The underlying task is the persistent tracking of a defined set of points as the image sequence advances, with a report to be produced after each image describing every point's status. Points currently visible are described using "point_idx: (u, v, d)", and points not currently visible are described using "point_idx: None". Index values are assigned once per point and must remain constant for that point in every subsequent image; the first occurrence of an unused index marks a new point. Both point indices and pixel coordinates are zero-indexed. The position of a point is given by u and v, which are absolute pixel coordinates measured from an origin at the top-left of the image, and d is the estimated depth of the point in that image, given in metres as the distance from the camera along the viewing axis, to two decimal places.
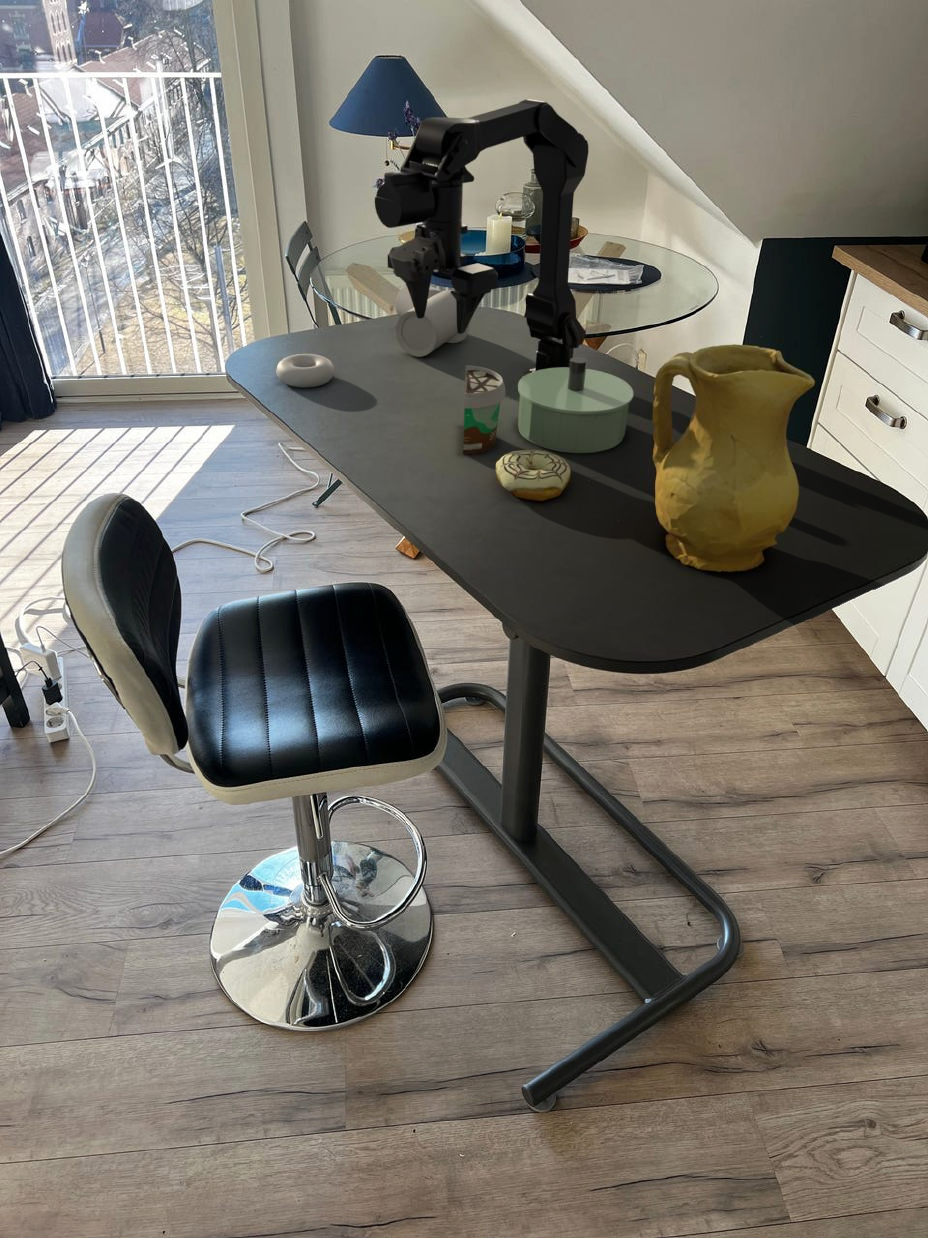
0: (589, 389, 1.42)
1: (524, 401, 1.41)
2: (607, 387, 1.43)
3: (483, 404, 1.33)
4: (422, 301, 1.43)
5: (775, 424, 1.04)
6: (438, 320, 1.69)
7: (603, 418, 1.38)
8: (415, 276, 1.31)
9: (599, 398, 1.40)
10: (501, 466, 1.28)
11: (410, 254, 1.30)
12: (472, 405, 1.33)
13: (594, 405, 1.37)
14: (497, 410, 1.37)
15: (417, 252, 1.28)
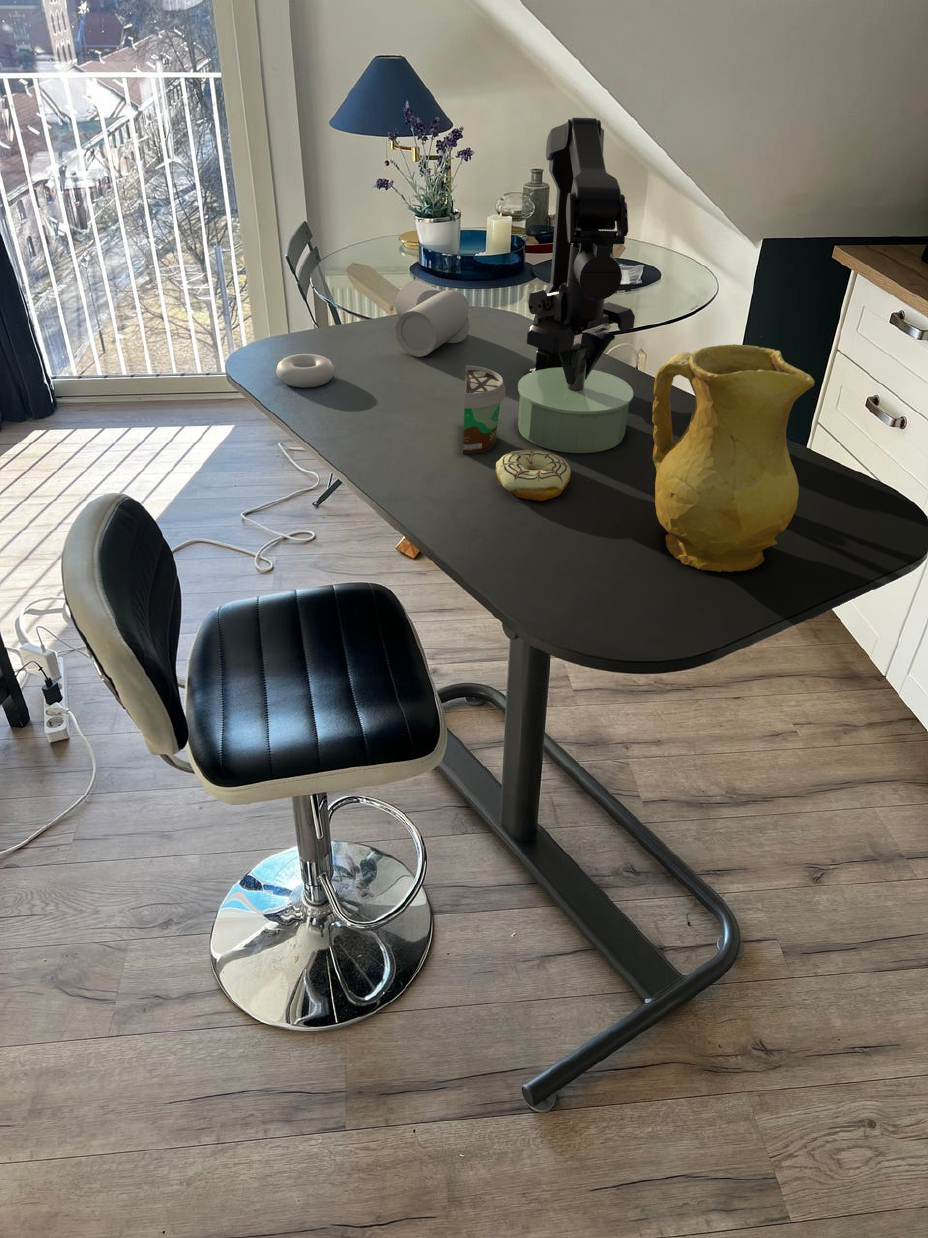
0: (589, 389, 1.42)
1: (524, 401, 1.41)
2: (607, 387, 1.43)
3: (483, 404, 1.33)
4: None
5: (774, 424, 1.04)
6: (438, 320, 1.69)
7: (603, 418, 1.38)
8: (536, 314, 1.40)
9: (599, 398, 1.40)
10: (501, 466, 1.28)
11: None
12: (472, 405, 1.33)
13: (594, 405, 1.37)
14: (497, 410, 1.37)
15: (535, 292, 1.37)
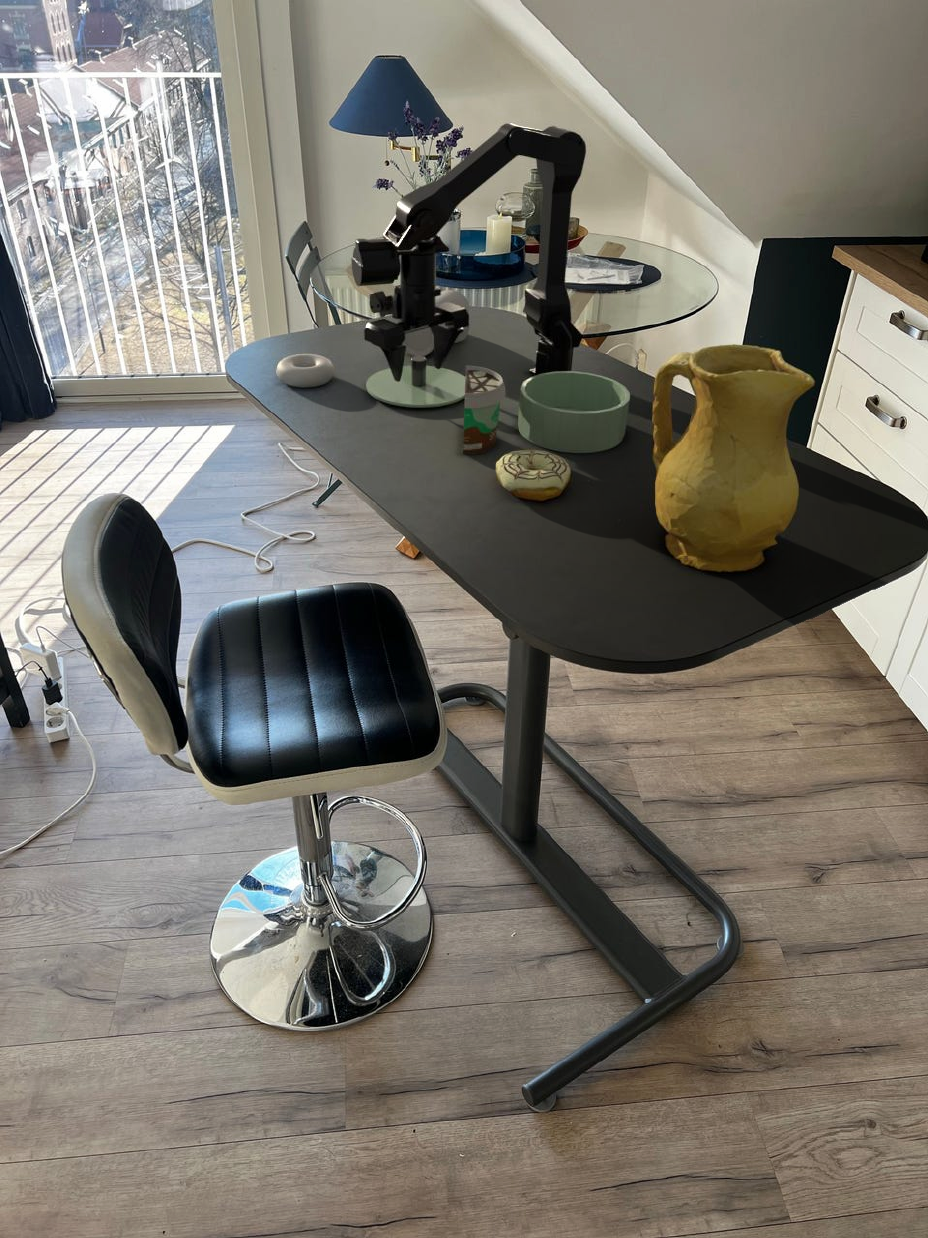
0: (431, 385, 1.57)
1: (524, 401, 1.41)
2: (448, 383, 1.58)
3: (483, 404, 1.33)
4: (438, 354, 1.58)
5: (774, 424, 1.04)
6: None
7: (603, 418, 1.38)
8: (379, 313, 1.54)
9: (436, 393, 1.54)
10: (501, 466, 1.28)
11: None
12: (472, 405, 1.33)
13: (430, 399, 1.52)
14: (497, 410, 1.37)
15: None
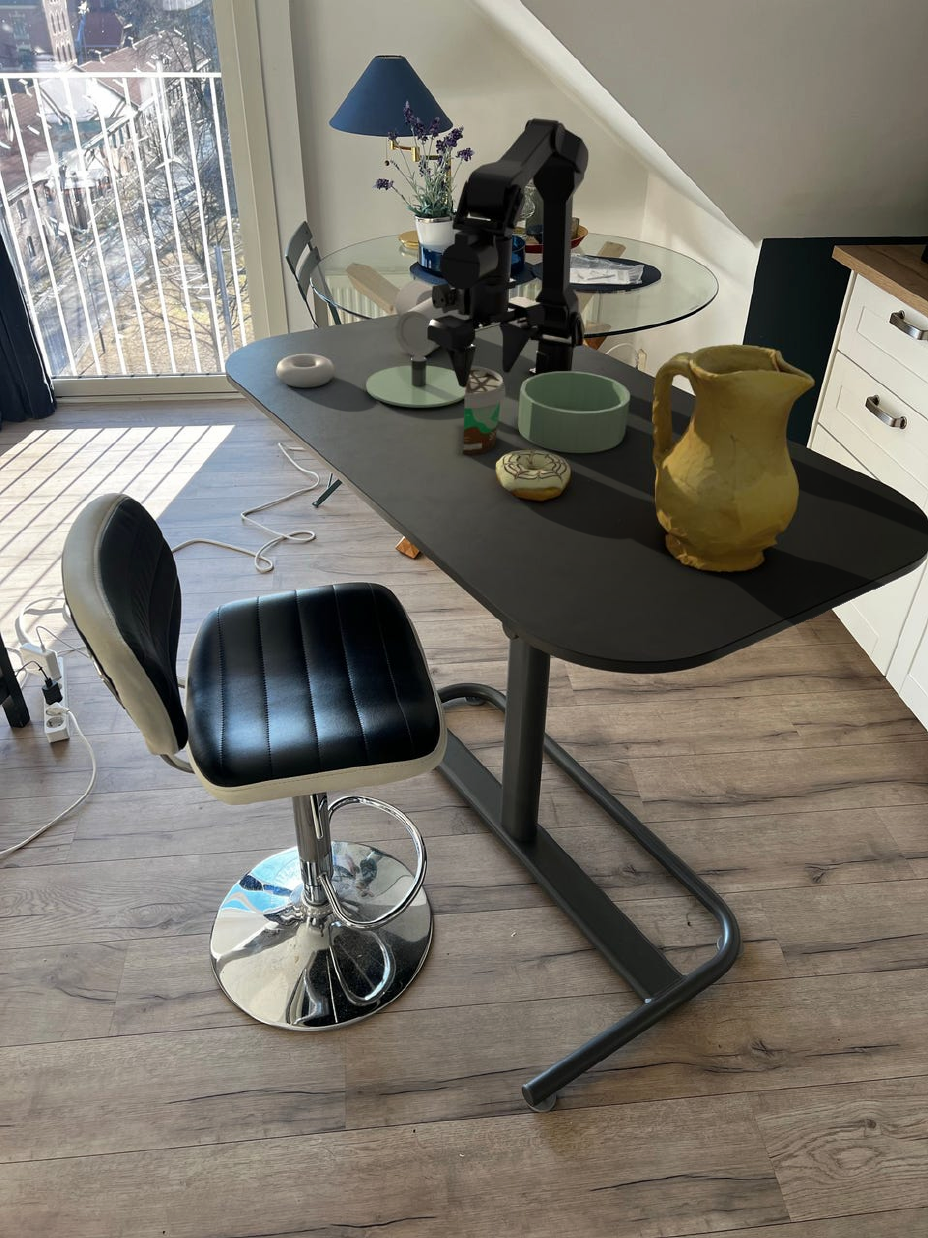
0: (431, 385, 1.57)
1: (524, 401, 1.41)
2: (448, 383, 1.58)
3: (483, 404, 1.33)
4: (508, 356, 1.38)
5: (774, 424, 1.04)
6: None
7: (603, 418, 1.38)
8: (442, 309, 1.34)
9: (436, 393, 1.54)
10: (501, 466, 1.28)
11: None
12: (472, 405, 1.33)
13: (430, 399, 1.52)
14: (497, 410, 1.37)
15: None
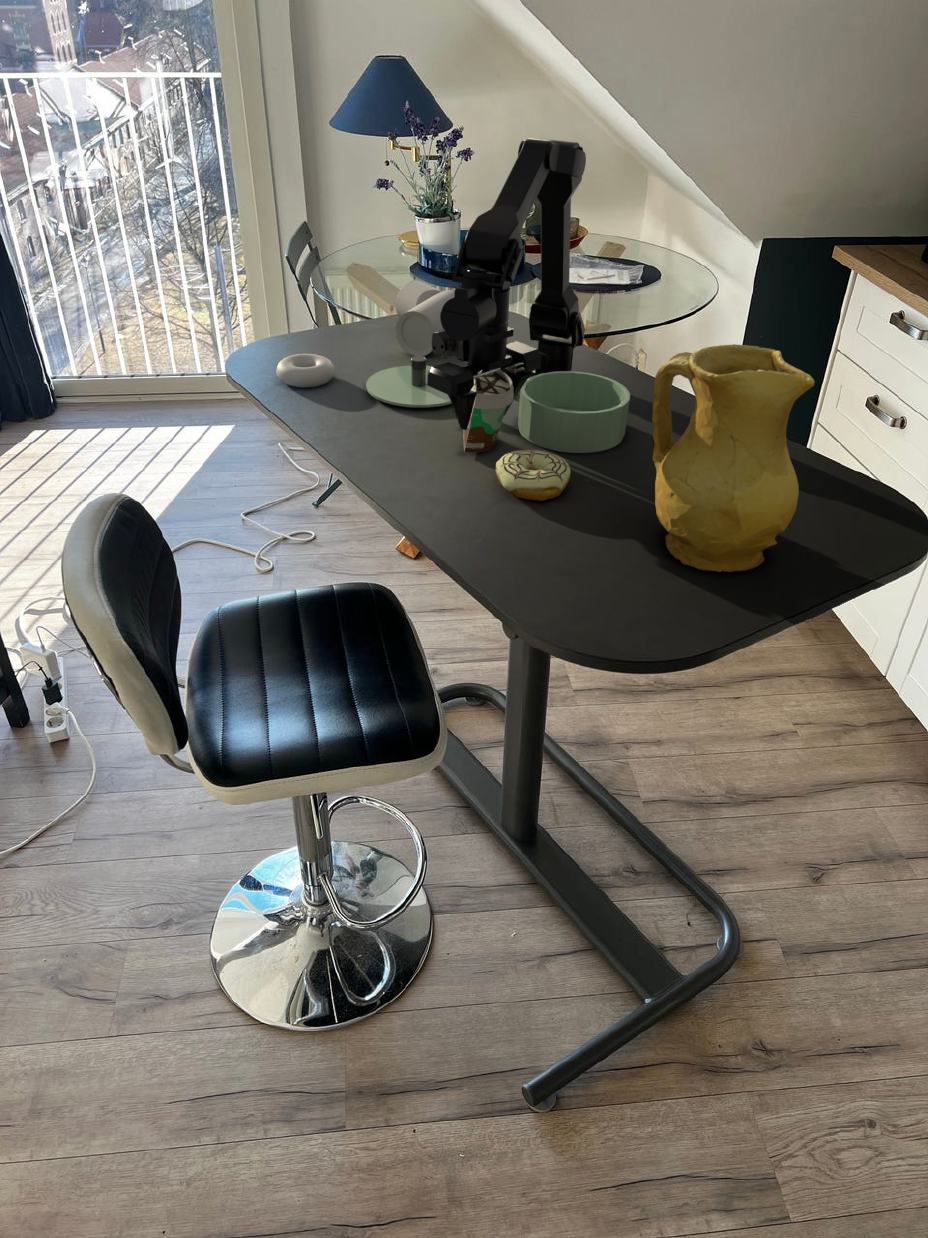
0: None
1: (524, 401, 1.41)
2: None
3: (493, 406, 1.33)
4: None
5: (774, 424, 1.04)
6: (438, 320, 1.69)
7: (603, 418, 1.38)
8: None
9: (436, 393, 1.54)
10: (501, 466, 1.28)
11: None
12: (483, 406, 1.32)
13: (430, 399, 1.52)
14: (503, 412, 1.37)
15: (438, 332, 1.36)
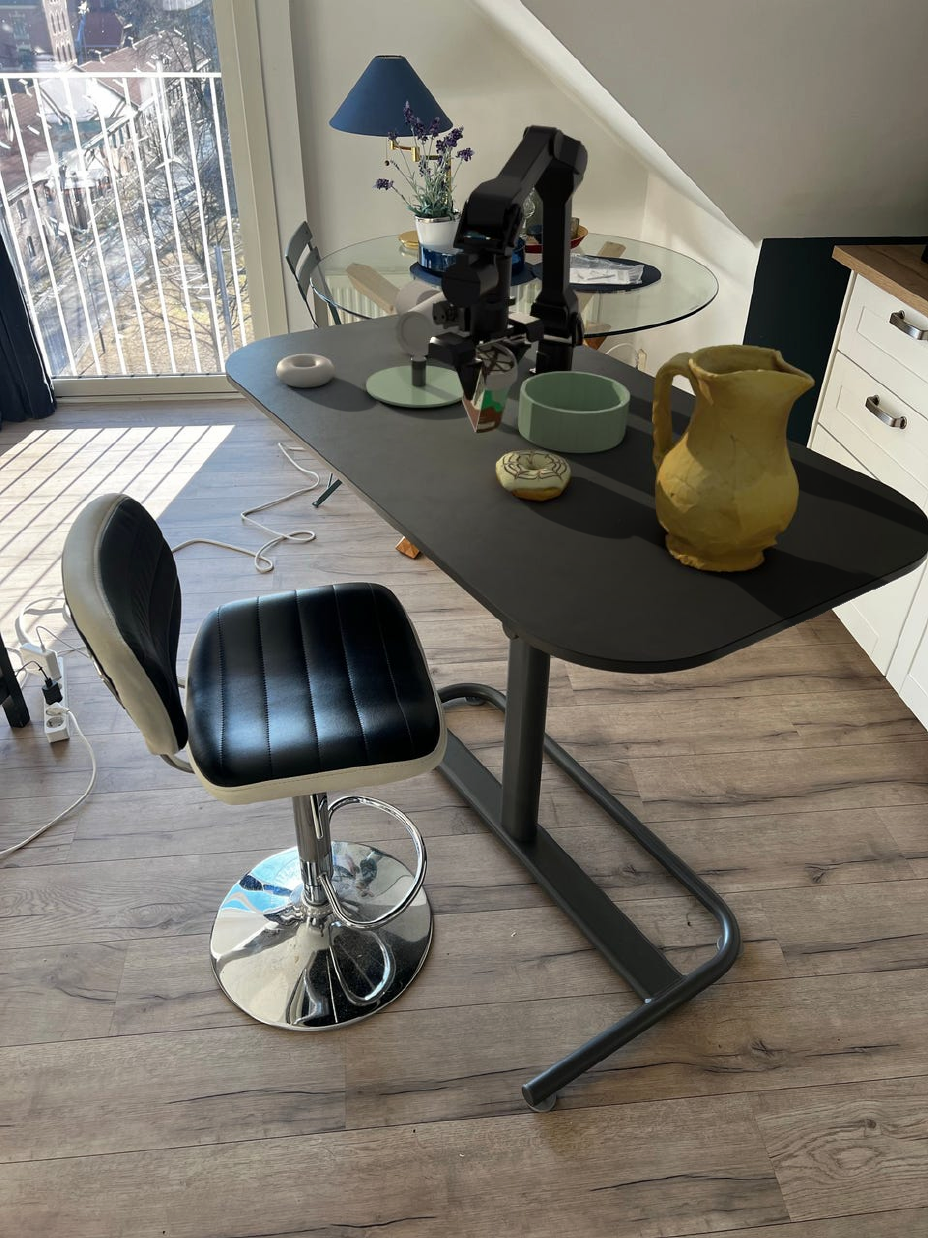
0: (431, 385, 1.57)
1: (524, 401, 1.41)
2: (448, 383, 1.58)
3: (503, 385, 1.30)
4: None
5: (774, 424, 1.04)
6: None
7: (603, 418, 1.38)
8: (442, 325, 1.35)
9: (436, 393, 1.54)
10: (501, 466, 1.28)
11: None
12: (494, 387, 1.29)
13: (430, 399, 1.52)
14: (509, 387, 1.34)
15: (439, 302, 1.33)
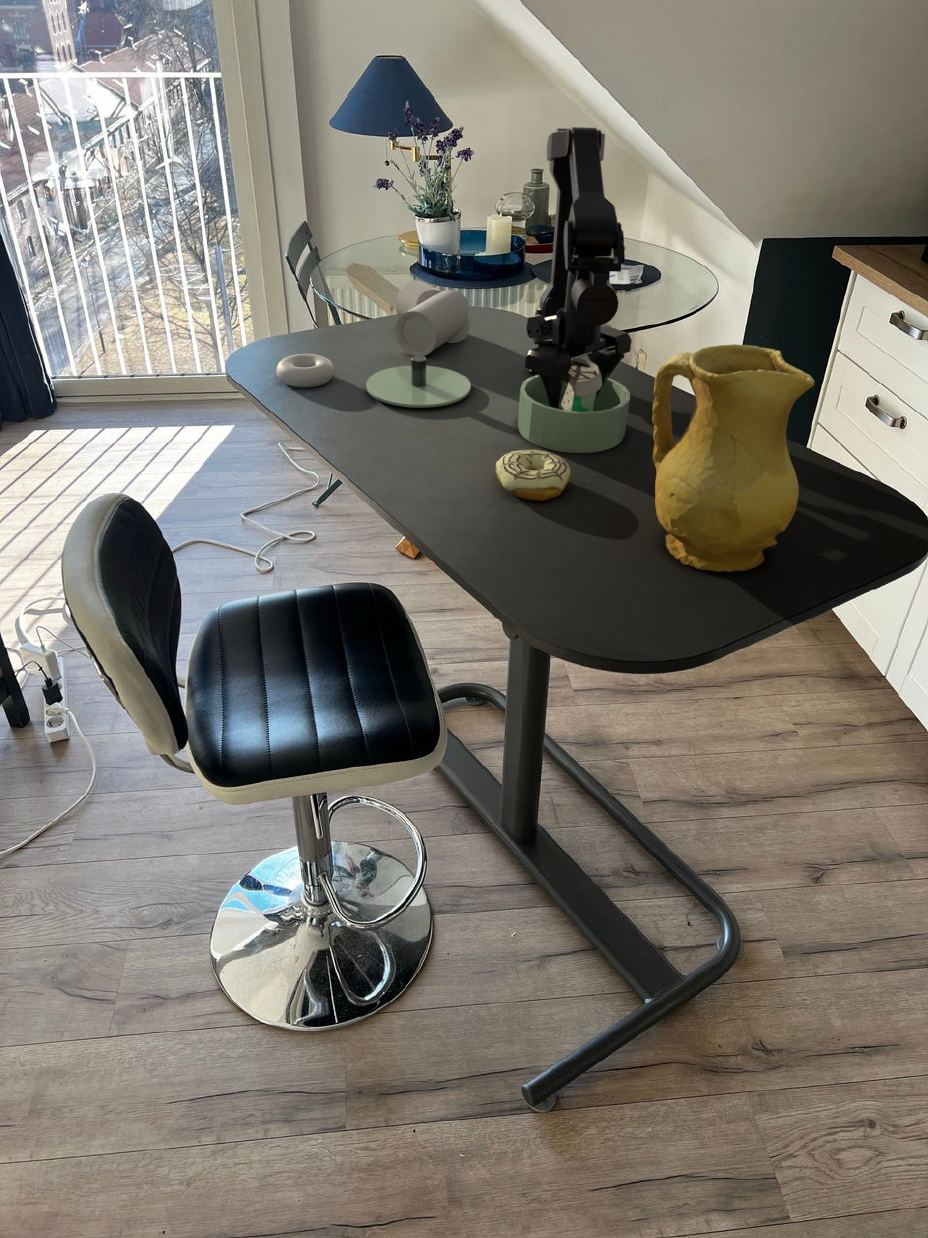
0: (431, 385, 1.57)
1: (524, 401, 1.41)
2: (448, 383, 1.58)
3: (591, 390, 1.37)
4: None
5: (774, 424, 1.04)
6: (439, 320, 1.69)
7: (603, 418, 1.38)
8: (534, 338, 1.42)
9: (436, 393, 1.54)
10: (501, 466, 1.28)
11: None
12: (582, 392, 1.36)
13: (430, 399, 1.52)
14: (595, 395, 1.42)
15: None
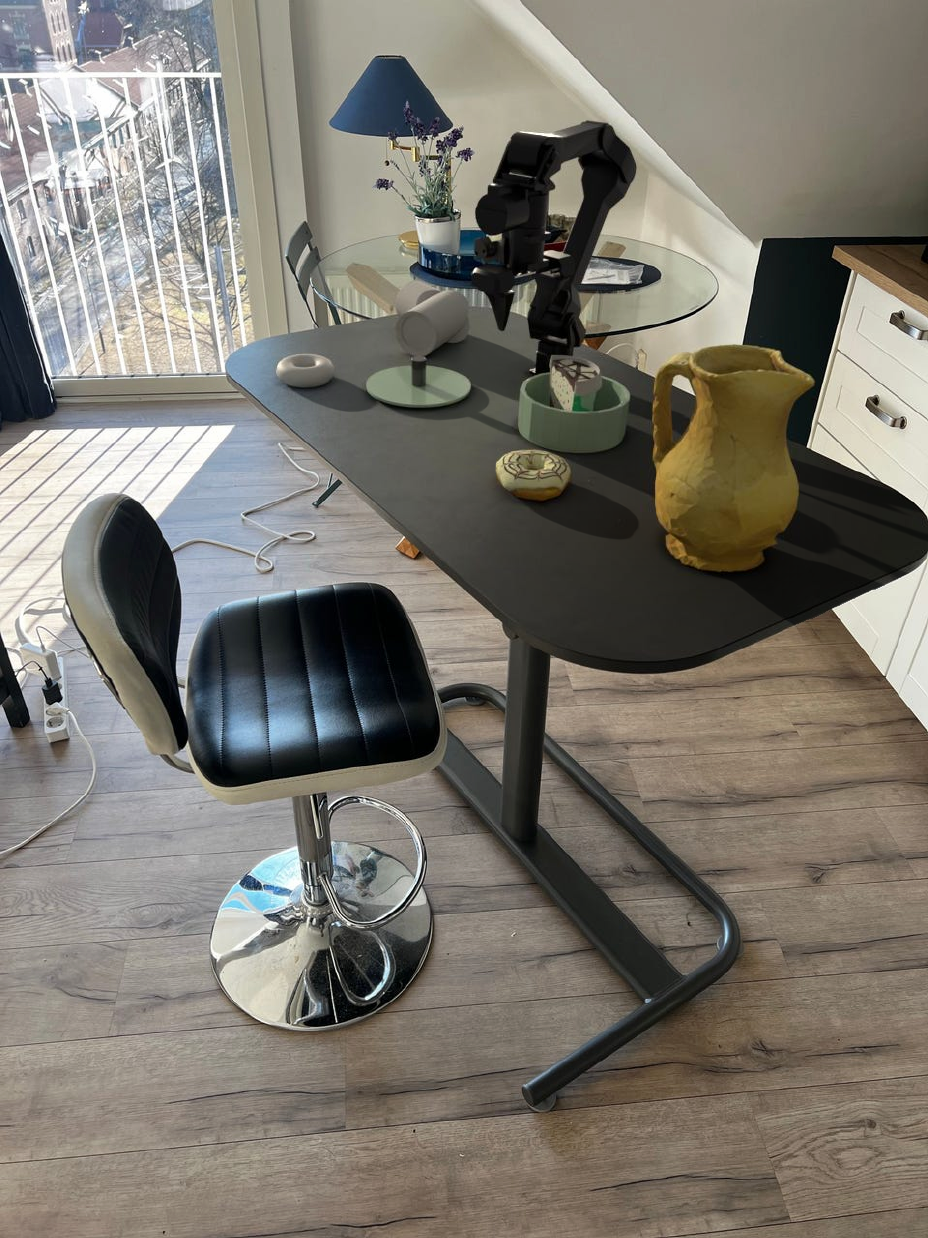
0: (431, 385, 1.57)
1: (524, 401, 1.41)
2: (448, 383, 1.58)
3: (591, 390, 1.37)
4: (541, 304, 1.52)
5: (774, 424, 1.04)
6: (438, 320, 1.69)
7: (603, 418, 1.38)
8: (482, 260, 1.49)
9: (436, 393, 1.54)
10: (501, 466, 1.28)
11: None
12: (582, 392, 1.36)
13: (430, 399, 1.52)
14: (595, 395, 1.42)
15: None
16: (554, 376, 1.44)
